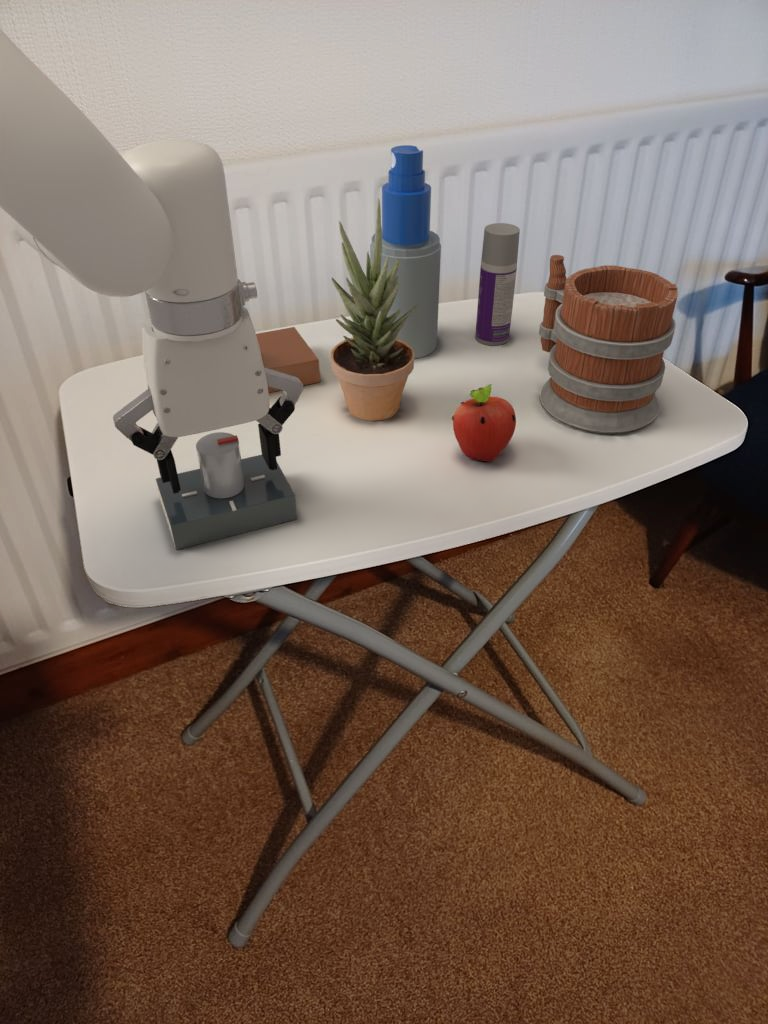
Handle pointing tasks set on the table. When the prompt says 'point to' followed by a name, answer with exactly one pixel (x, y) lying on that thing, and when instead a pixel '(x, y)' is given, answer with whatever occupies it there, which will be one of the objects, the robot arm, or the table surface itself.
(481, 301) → the container
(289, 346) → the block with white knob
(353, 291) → the potted plant
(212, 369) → the robot arm
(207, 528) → the panel
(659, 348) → the mug
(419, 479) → the table surface
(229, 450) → the tap knob
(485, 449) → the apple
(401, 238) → the spray bottle
